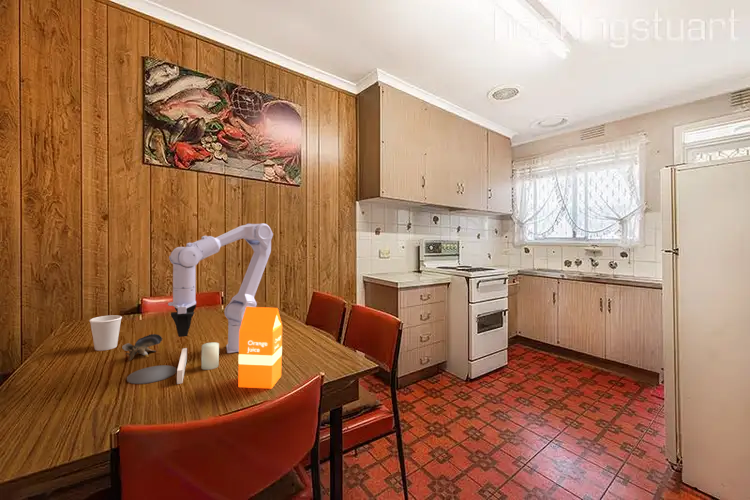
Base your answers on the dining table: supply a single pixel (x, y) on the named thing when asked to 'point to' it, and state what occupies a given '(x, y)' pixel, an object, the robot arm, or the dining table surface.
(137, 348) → the eagle figurine
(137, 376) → the rubber mat
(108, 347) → the dixie cup
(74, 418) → the dining table surface
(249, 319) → the orange juice
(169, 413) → the dining table surface
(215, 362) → the sage cylinder
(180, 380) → the divider wall
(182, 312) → the robot arm
